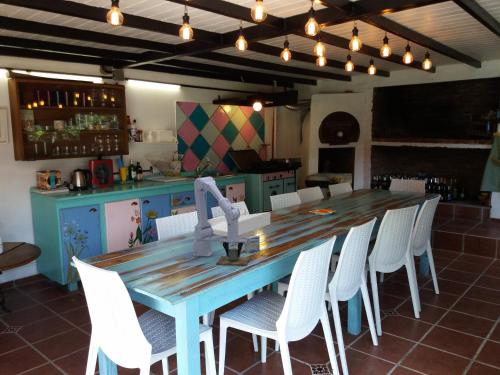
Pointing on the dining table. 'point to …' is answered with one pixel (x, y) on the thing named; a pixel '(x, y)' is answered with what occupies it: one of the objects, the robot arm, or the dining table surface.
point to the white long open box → (240, 223)
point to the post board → (240, 262)
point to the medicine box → (252, 244)
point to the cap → (233, 254)
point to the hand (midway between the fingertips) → (233, 256)
